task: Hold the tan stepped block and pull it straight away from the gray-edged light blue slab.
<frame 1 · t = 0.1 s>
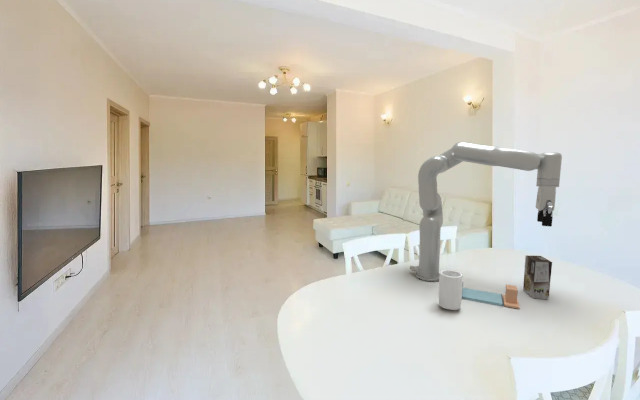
hand: (544, 223, 126), 31 cm above the table, fingers open, 9 cm apart
gray-edged light blue slab: (477, 296, 128), on the table
coffee box: (535, 294, 130), on the table
cup: (449, 308, 118), on the table
tan stepped block: (511, 294, 122), point 3 cm above the table, slide at 0.0 cm
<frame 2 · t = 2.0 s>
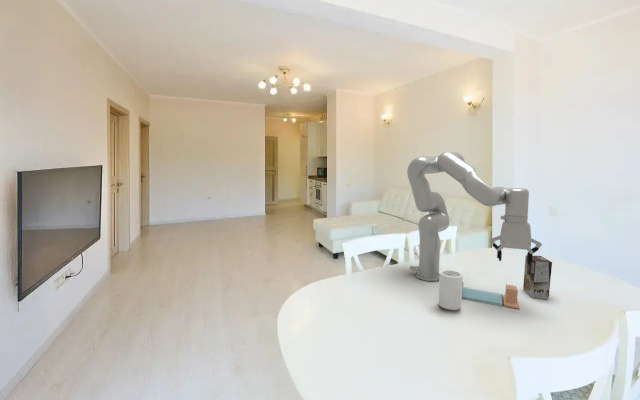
hand: (514, 261, 120), 17 cm above the table, fingers open, 9 cm apart
nothing on the table moved.
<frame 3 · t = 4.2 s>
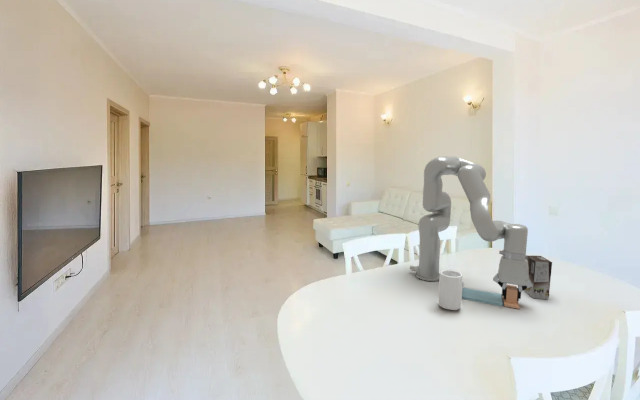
hand: (510, 298, 122), 2 cm above the table, fingers closed on tan stepped block, 3 cm apart
tan stepped block: (511, 294, 122), point 3 cm above the table, slide at 0.0 cm, touching gripper
everything else where it was.
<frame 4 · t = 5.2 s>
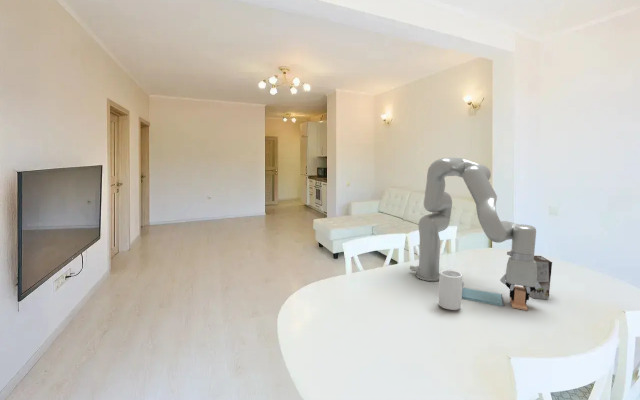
hand: (518, 299, 121), 2 cm above the table, fingers closed on tan stepped block, 3 cm apart
tan stepped block: (518, 296, 121), point 3 cm above the table, slide at 2.7 cm, touching gripper
everything else where it was.
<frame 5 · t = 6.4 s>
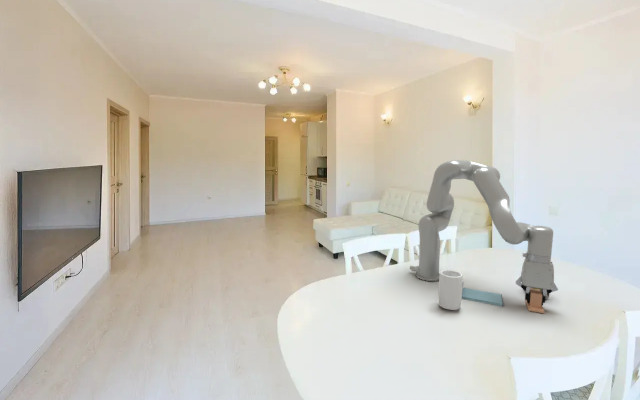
hand: (534, 302, 118), 2 cm above the table, fingers closed on tan stepped block, 3 cm apart
tan stepped block: (534, 298, 118), point 3 cm above the table, slide at 7.9 cm, touching gripper
everything else where it was.
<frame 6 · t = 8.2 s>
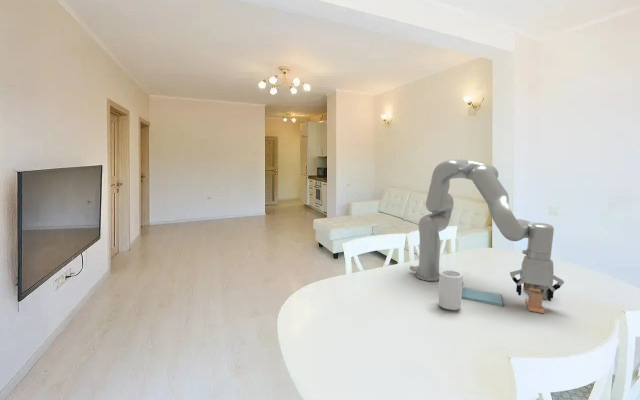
hand: (533, 296, 118), 4 cm above the table, fingers open, 9 cm apart
tan stepped block: (535, 298, 118), point 3 cm above the table, slide at 8.0 cm
everything else where it was.
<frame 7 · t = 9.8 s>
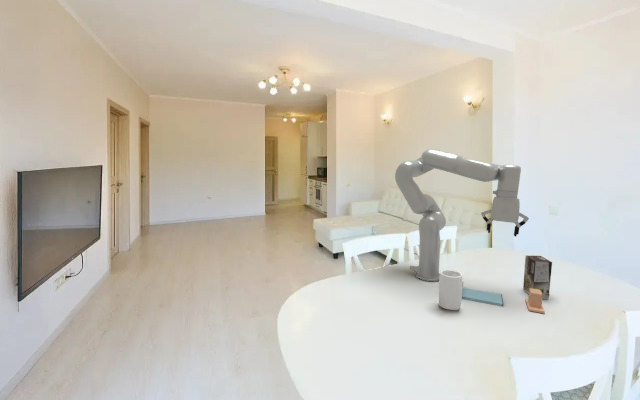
hand: (501, 234, 129), 26 cm above the table, fingers open, 9 cm apart
nothing on the table moved.
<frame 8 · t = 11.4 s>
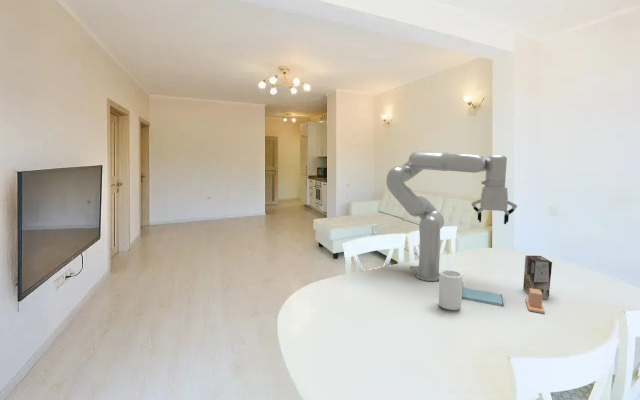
hand: (492, 222, 133), 30 cm above the table, fingers open, 9 cm apart
nothing on the table moved.
at the end: tan stepped block slide at 8.0 cm; the gripper is holding nothing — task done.
